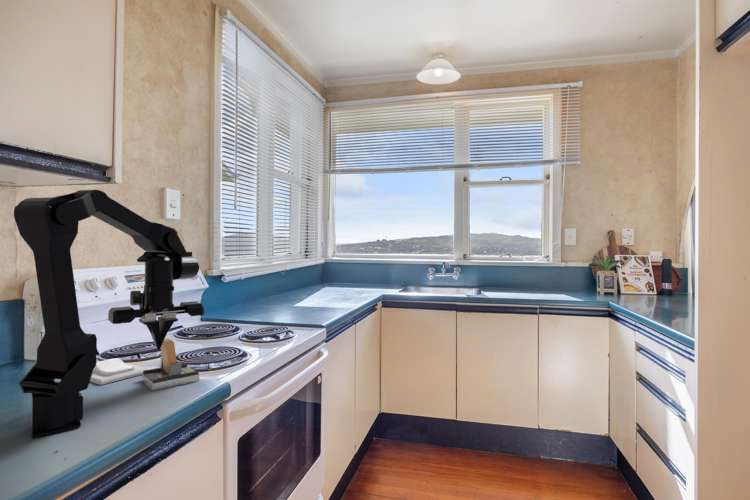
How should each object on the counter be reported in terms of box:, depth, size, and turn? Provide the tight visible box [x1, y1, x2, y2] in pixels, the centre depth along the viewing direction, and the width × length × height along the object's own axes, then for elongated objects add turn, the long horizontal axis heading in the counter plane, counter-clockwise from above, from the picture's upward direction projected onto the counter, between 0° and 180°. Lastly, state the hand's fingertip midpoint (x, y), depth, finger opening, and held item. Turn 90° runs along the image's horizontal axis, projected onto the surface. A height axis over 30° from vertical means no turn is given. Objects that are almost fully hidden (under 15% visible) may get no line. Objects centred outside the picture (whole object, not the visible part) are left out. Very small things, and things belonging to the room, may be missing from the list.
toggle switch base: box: [141, 357, 200, 391], centre depth 93 cm, size 10×9×5 cm
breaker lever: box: [160, 337, 178, 373], centre depth 93 cm, size 2×5×8 cm, turn 43°
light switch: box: [90, 357, 149, 386], centre depth 97 cm, size 11×4×13 cm
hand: (158, 349), depth 91 cm, fingers closed
